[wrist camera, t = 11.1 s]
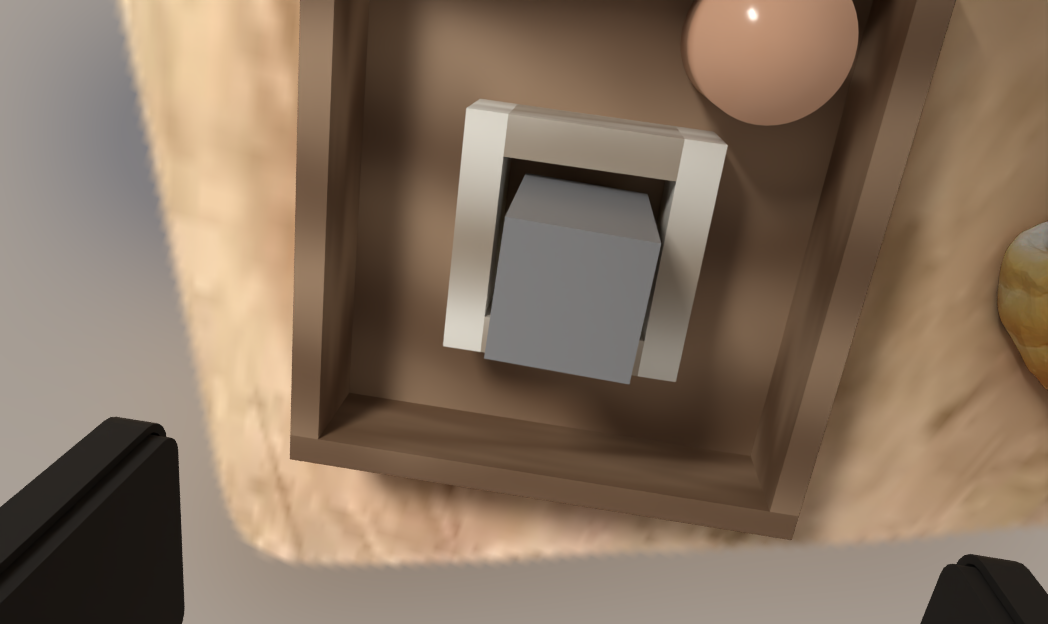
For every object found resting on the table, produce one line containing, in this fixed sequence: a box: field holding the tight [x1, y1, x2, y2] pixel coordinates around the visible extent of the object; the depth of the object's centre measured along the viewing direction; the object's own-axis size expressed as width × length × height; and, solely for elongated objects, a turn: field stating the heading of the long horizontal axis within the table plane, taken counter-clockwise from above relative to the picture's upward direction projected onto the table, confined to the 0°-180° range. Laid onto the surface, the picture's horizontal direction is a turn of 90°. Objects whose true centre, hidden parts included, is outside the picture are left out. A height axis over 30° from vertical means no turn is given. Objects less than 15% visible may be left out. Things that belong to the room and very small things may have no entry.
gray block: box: [484, 173, 661, 384], centre depth 24 cm, size 4×4×8 cm
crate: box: [290, 0, 956, 540], centre depth 26 cm, size 20×18×4 cm
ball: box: [680, 0, 859, 126], centre depth 23 cm, size 4×4×4 cm
